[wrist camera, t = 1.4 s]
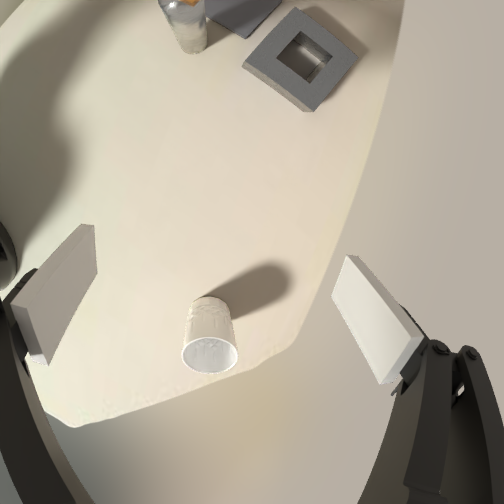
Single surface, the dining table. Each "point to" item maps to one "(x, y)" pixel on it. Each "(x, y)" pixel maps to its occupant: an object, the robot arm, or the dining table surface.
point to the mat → (239, 13)
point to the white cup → (209, 337)
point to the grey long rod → (187, 23)
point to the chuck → (316, 42)
